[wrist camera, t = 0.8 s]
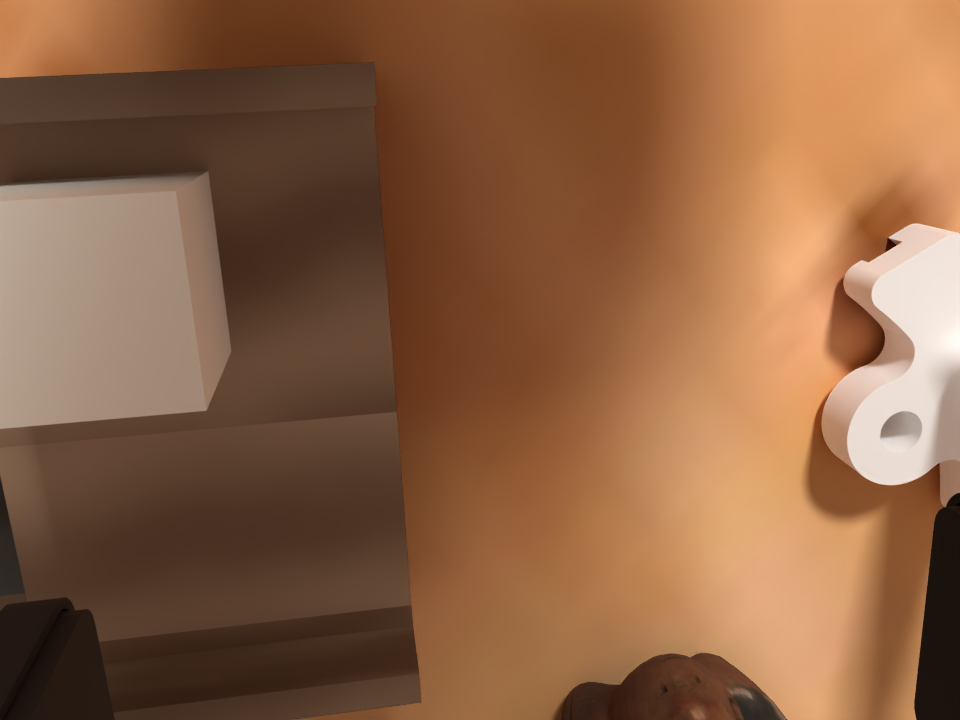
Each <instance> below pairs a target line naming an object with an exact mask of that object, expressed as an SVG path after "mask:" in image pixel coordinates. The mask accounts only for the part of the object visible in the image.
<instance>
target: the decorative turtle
mask: <svg viewBox="0 0 960 720" xmlns="http://www.w3.org/2000/svg"><path fill="white" fill-rule="evenodd" d="M562 720H787V719H786V718H785V716H784V715H783V714H782V712H781V711H780V710H779V708H778V707H777V706H776V704H775V703H774V702H773V701H772V700H771V699H770V698H769V697H768V696H767V695H766V694H765V693H764V692H763V691H762V690H761V689H760V688H759V687H758V686H757V685H756V684H755V683H754V682H753V681H751V680H750V679H749V678H748V677H747V676H745V675H744V674H743V673H742V672H741V671H739V670H738V669H737V668H735V667H734V666H733V665H731V664H730V663H728V662H727V661H726V660H724V659H723V658H721V657H720V656H716V655H713V654H709V653H700V654H696V655H694V656H692V657H691V658H689V657H687V656H684V655H679V654H664V655H659V656H656V657H653V658H651V659H649V660H648V661H646V662H644V663H642V664H641V665H639V666H638V667H637V668H636V669H635V670H633V671H632V672H631V673H630V674H629V675H628V676H627V677H626V679H625V680H624V681H623V682H622V684H621V685H609V684H603V683H596V682H587V683H583V684H580V685H578V686H577V687H575V688H574V689H573V690H572V691H571V693H570V694H569V695H568V697H567V699H566V702H565V705H564V708H563V712H562Z"/></svg>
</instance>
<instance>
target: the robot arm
mask: <svg viewBox="0 0 960 720" xmlns="http://www.w3.org/2000/svg"><path fill="white" fill-rule="evenodd" d="M915 715H916V719H917V720H960V493H957V494H955V495H953V496H952V497H951V498H950V499H949V501H948V503H947V505H946V507H944V508H942V509H940V510H939V512H938V513H937V515H936V518H935V522H934V531H933V540H932V549H931V558H930V567H929V576H928V585H927V594H926V603H925V612H924V621H923V630H922V639H921V648H920V657H919V666H918V675H917V684H916V693H915ZM0 720H115V719H114V714H113V709H112V704H111V699H110V694H109V689H108V684H107V679H106V674H105V669H104V665H103V660H102V655H101V650H100V645H99V640H98V635H97V630H96V625H95V621H94V618H93V615H92V613H91V611H90V610H88V609H82V610H75V608H74V606H73V604H72V602H71V600H69V599H68V598H67V597H63V598H54V599H46V600H37V601H29V602H20V603H12V604H7V605H6V606H5V607H4V608H3V609H2V610H1V611H0Z"/></svg>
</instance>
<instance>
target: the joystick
mask: <svg viewBox="0 0 960 720" xmlns="http://www.w3.org/2000/svg"><path fill="white" fill-rule="evenodd" d="M888 238H889V239H890V240H891V241H892V242H894V243H895V244H896V245H897V246H895V247H893V248H892V249H890V250H889V251H887V252H885V253H884V254H882V255H880V256H879V257H877V258H875V259H874V260H872V261H870V262H869V263H868V262H865V261H862V260H861V261H860V262H858V263H856V264H855V265H853V266H852V267H851V268H850V269H849V270H848V271H847V273H846V275H845V277H844V281H843V286H844V290H845V292H846V294H847V295H848V296H849V297H851V298H852V299H853V300H854V301H856V302H857V303H858V304H859V305H860V306H861V307H863V308H864V309H865V310H866V311H867V312H868V313H869V314H870V315H871V316H872V317H873V318H874V319H875V320H876V321H877V322H878V323H879V324H880V325H881V327H882V328H883V330H884V334H885V344H884V347H883V350H882V352H881V353H880V355H879V356H878V357H877V358H876V359H875V360H874V361H873V362H871V363H869V364H867V365H865V366H862V367H860V368H858V369H856V370H854V371H852V372H851V373H849V374H848V375H846V376H845V377H844V378H843V379H842V380H841V381H840V382H839V383H838V384H837V385H836V386H835V387H834V389H833V390H832V392H831V393H830V395H829V397H828V399H827V401H826V403H825V406H824V409H823V413H822V423H821V424H822V433H823V437H824V440H825V442H826V444H827V446H828V448H829V449H830V450H831V452H832V453H833V454H834V455H835V456H837V457H838V458H839V459H841V460H842V461H843V462H845V463H846V464H847V465H849V466H850V467H851V468H853V469H854V470H855V471H857V472H858V473H859V474H861V475H862V476H863V477H865V478H866V479H868V480H870V481H872V482H875V483H878V484H882V485H899V484H904V483H907V482H910V481H913V480H915V479H917V478H919V477H921V476H922V475H924V474H925V473H927V472H928V471H929V470H931V469H932V468H933V467H934V466H935V465H937V464H938V463H939V464H940V501H941V503H942V505H943V506H944V507H946V505H947V503H948V501H949V499H950V498H951V497H952V496H953V495H955V494H957V493H960V233H956V232H952V231H947V230H943V229H939V228H935V227H930V226H926V225H922V224H911V225H908V226H907V227H905V228H903V229H902V230H900V231H898V232H897V233H895V234H893V235H892V236H890V237H888Z"/></svg>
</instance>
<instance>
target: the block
mask: <svg viewBox="0 0 960 720" xmlns="http://www.w3.org/2000/svg"><path fill="white" fill-rule="evenodd" d="M230 353H231V344H230V336H229V329H228V321H227V313H226V305H225V297H224V290H223V282H222V274H221V266H220V258H219V251H218V243H217V235H216V227H215V220H214V212H213V204H212V196H211V188H210V181H209V173H208V171H198V172H180V173H162V174H144V175H126V176H109V177H91V178H73V179H55V180H37V181H19V182H8V183H5V184H1V185H0V429H5V428H17V427H28V426H39V425H51V424H62V423H73V422H85V421H96V420H107V419H119V418H130V417H141V416H153V415H164V414H175V413H187V412H198V411H207V409H208V406H209V404H210V401H211V399H212V397H213V394H214V392H215V389H216V387H217V385H218V382H219V380H220V377H221V375H222V373H223V370H224V368H225V365H226V363H227V361H228V358H229V356H230Z"/></svg>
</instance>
